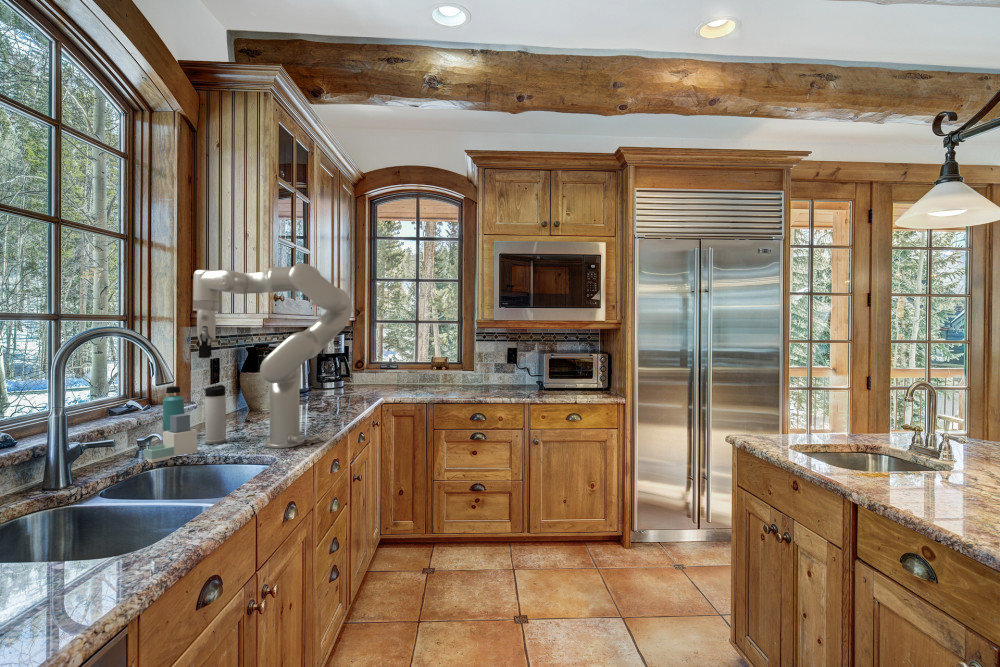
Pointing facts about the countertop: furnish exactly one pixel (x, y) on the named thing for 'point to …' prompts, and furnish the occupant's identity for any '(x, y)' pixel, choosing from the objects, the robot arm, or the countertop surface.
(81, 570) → the countertop surface
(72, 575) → the countertop surface
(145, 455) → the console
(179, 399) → the beverage bottle
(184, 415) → the grey rectangular block
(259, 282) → the robot arm
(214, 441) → the travel mug
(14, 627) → the countertop surface
